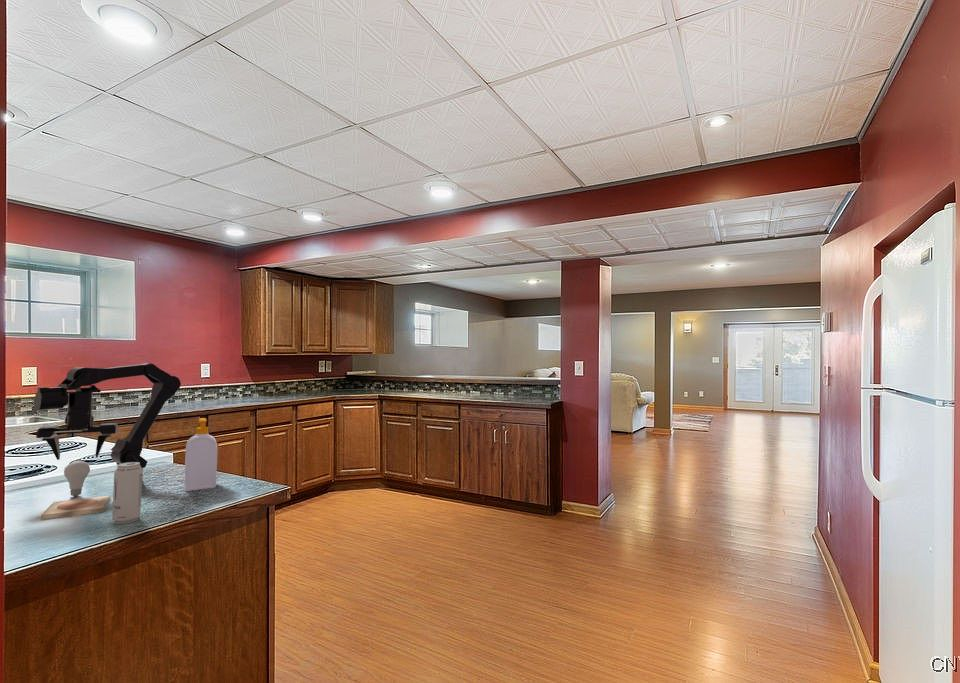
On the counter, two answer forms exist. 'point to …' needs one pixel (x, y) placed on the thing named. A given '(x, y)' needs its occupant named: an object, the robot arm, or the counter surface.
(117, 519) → the energy drink can
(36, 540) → the counter surface
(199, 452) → the soap bottle
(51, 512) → the birch board
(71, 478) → the lightbulb
